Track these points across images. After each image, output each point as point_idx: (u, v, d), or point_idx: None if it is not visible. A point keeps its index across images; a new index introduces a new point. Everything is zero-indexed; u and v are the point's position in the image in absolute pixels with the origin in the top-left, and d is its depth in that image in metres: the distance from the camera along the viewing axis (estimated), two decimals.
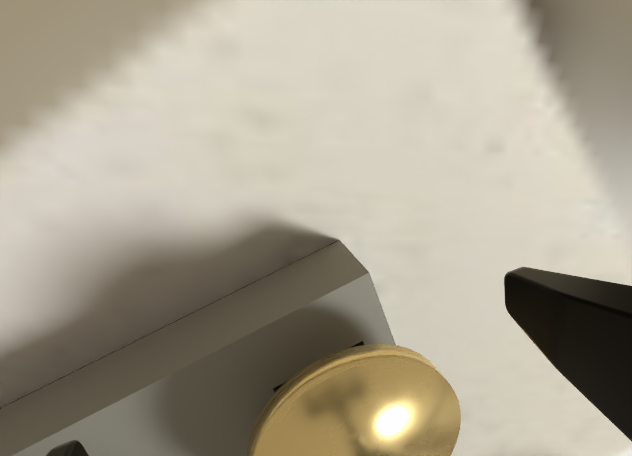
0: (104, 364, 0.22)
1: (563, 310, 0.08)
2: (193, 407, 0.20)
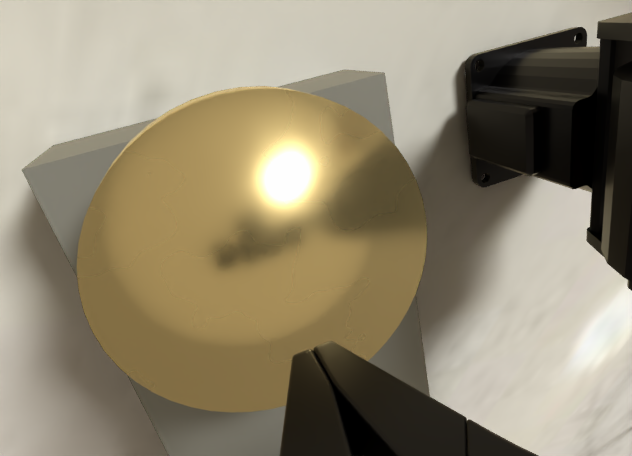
0: None
1: (340, 403, 0.07)
2: None
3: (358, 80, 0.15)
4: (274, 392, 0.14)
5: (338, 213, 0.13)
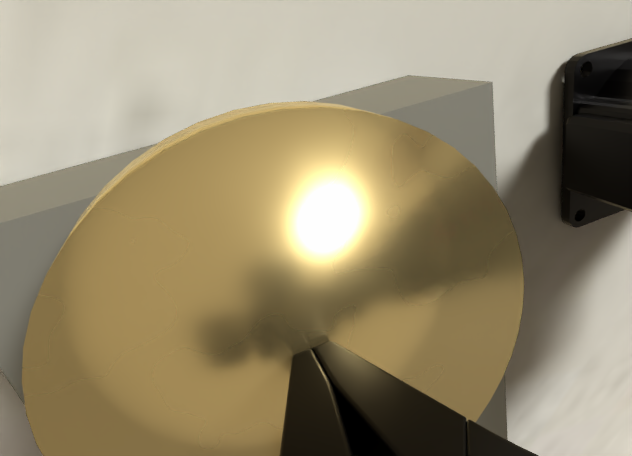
0: None
1: (340, 403, 0.07)
2: None
3: (453, 93, 0.10)
4: None
5: (408, 283, 0.09)
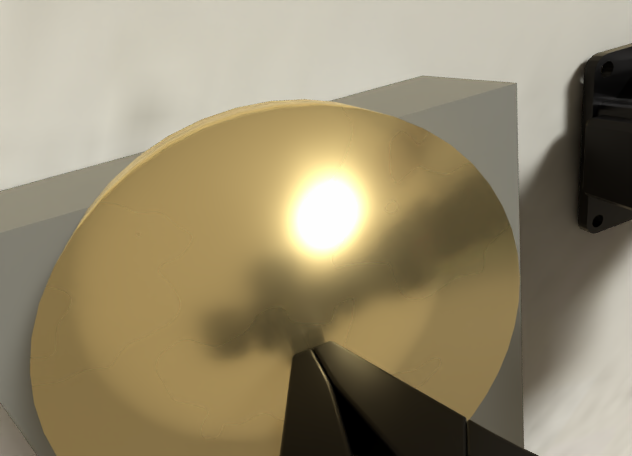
0: None
1: (340, 403, 0.07)
2: None
3: (475, 95, 0.09)
4: None
5: (406, 277, 0.09)
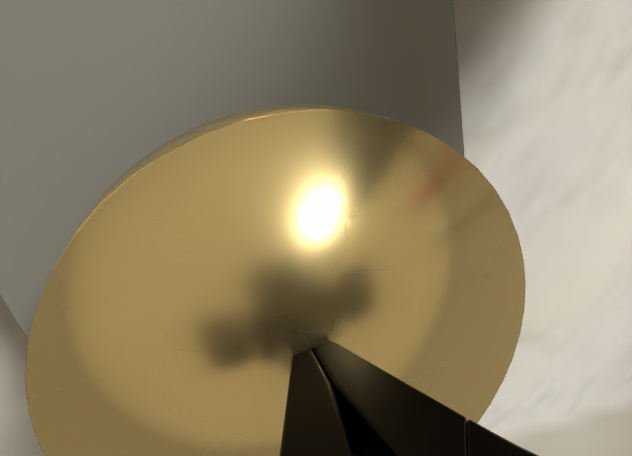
0: None
1: (340, 403, 0.07)
2: None
3: None
4: None
5: None
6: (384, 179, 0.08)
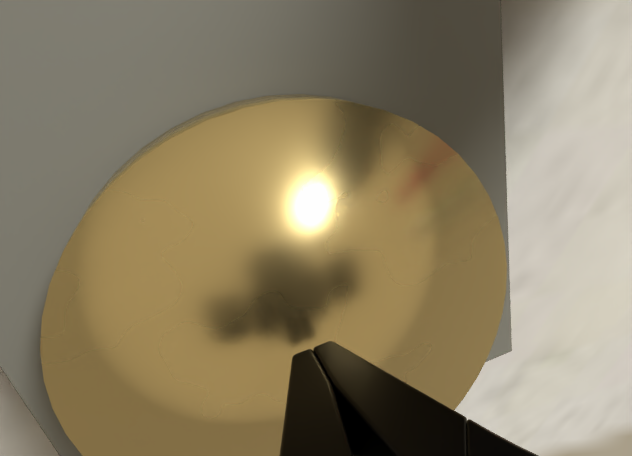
0: None
1: (340, 403, 0.07)
2: None
3: None
4: None
5: None
6: (371, 164, 0.08)
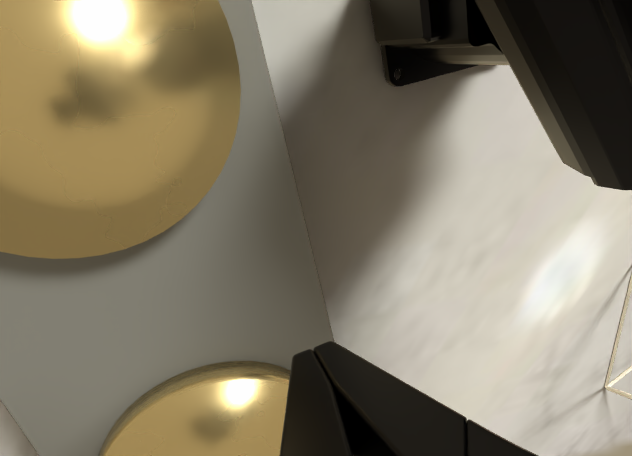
0: None
1: (340, 403, 0.07)
2: (22, 298, 0.14)
3: None
4: (78, 238, 0.13)
5: (122, 21, 0.12)
6: (253, 401, 0.17)
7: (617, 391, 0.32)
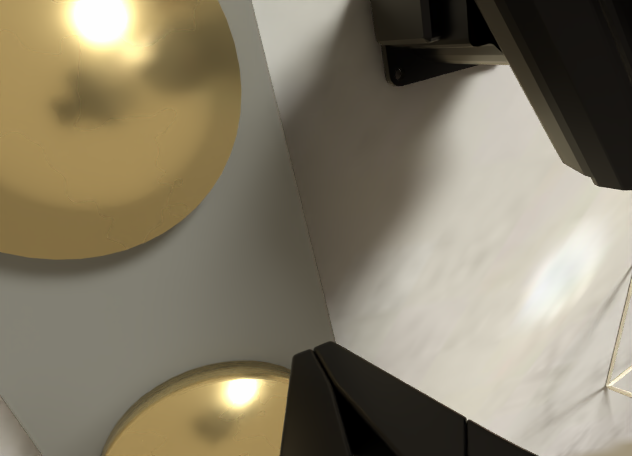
0: None
1: (340, 403, 0.07)
2: (24, 299, 0.15)
3: None
4: (80, 239, 0.13)
5: (123, 23, 0.12)
6: (254, 401, 0.17)
7: (618, 390, 0.32)
